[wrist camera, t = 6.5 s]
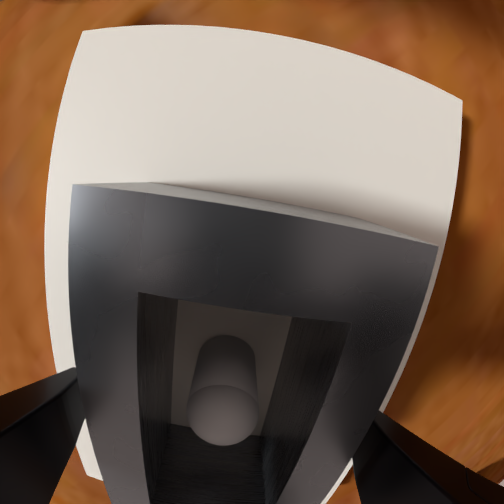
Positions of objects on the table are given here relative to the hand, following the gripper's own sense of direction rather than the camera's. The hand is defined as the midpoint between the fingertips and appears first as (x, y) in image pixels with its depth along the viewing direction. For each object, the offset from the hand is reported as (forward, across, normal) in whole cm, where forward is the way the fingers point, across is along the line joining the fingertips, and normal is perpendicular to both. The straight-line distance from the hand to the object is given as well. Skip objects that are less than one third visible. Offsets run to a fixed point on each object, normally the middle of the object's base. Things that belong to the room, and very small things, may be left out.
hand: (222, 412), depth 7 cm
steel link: (+2, 0, 0) cm, 3 cm away
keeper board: (+4, 0, 0) cm, 4 cm away
